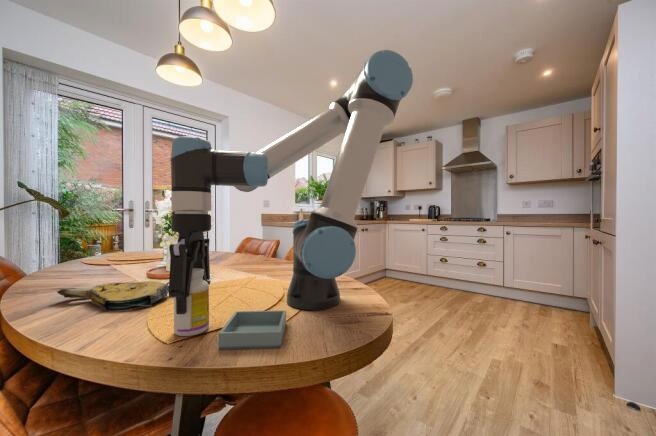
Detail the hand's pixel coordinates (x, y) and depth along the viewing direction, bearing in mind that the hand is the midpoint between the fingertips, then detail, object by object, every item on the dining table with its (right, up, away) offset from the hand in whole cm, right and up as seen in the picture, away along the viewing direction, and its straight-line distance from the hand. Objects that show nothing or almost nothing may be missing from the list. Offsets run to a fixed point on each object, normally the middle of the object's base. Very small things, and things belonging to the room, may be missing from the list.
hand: (191, 321), depth 57 cm
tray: (+14, -2, -2) cm, 14 cm away
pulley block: (-30, -2, +18) cm, 36 cm away
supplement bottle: (0, -2, 0) cm, 2 cm away
